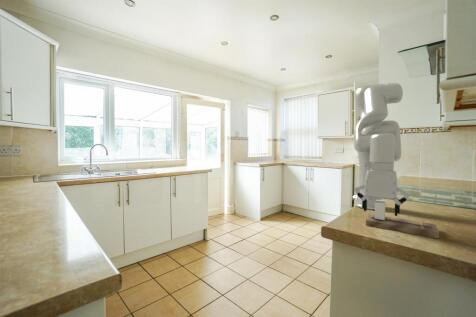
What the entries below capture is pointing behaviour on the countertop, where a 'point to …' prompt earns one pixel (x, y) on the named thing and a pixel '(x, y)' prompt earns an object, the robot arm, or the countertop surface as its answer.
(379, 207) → the fader tab
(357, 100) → the robot arm
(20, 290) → the countertop surface
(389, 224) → the fader board
